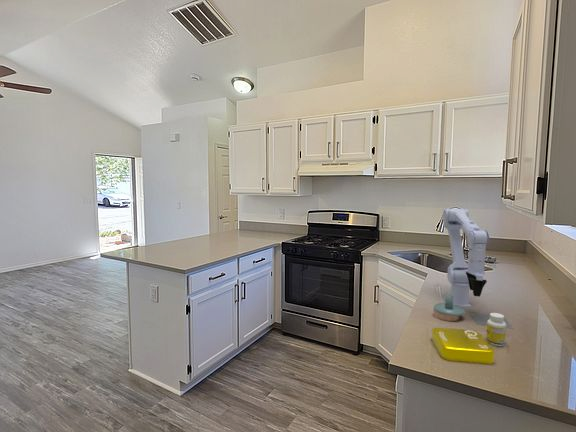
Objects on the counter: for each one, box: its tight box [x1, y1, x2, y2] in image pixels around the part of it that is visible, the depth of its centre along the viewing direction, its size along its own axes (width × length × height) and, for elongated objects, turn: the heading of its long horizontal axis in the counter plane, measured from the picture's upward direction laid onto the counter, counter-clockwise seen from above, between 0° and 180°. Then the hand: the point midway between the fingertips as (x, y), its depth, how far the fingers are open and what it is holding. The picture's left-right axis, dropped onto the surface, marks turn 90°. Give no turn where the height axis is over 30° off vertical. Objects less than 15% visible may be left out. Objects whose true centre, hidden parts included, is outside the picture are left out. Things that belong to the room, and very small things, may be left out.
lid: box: [433, 294, 465, 317], centre depth 129 cm, size 11×11×6 cm
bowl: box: [432, 309, 460, 322], centre depth 130 cm, size 9×9×3 cm
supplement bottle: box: [486, 312, 507, 347], centre depth 108 cm, size 5×5×10 cm
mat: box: [470, 312, 515, 330], centre depth 126 cm, size 12×12×1 cm
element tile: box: [431, 327, 495, 365], centre depth 104 cm, size 15×15×5 cm
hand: (474, 293), depth 130 cm, fingers open, 7 cm apart
